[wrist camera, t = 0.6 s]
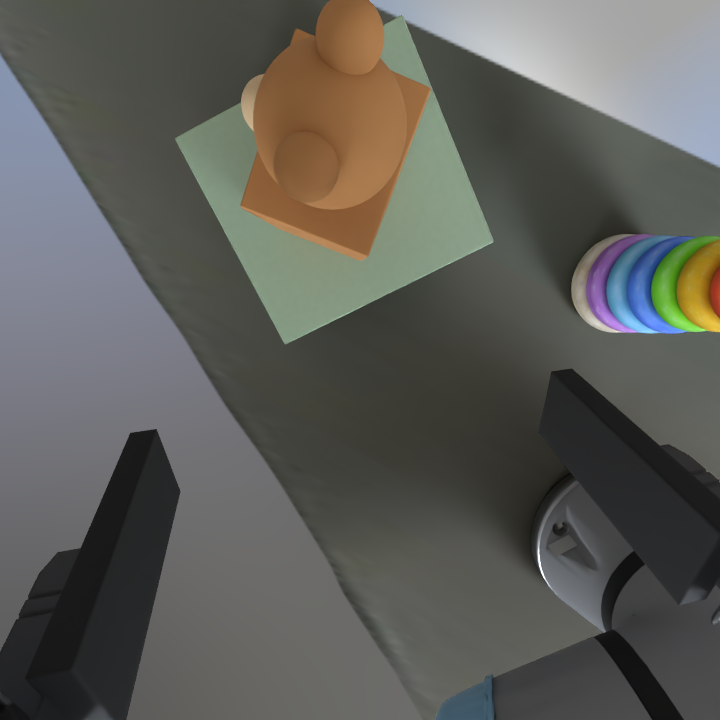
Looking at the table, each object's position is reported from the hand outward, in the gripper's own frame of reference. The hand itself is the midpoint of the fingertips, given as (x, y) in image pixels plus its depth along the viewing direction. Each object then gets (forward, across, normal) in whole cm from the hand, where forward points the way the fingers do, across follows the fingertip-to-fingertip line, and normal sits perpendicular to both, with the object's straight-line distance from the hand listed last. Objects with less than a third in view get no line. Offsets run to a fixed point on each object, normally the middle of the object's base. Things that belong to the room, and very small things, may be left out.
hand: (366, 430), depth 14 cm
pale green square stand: (+24, -3, -2) cm, 24 cm away
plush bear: (+15, -1, -5) cm, 16 cm away
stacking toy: (+19, -25, +5) cm, 32 cm away
